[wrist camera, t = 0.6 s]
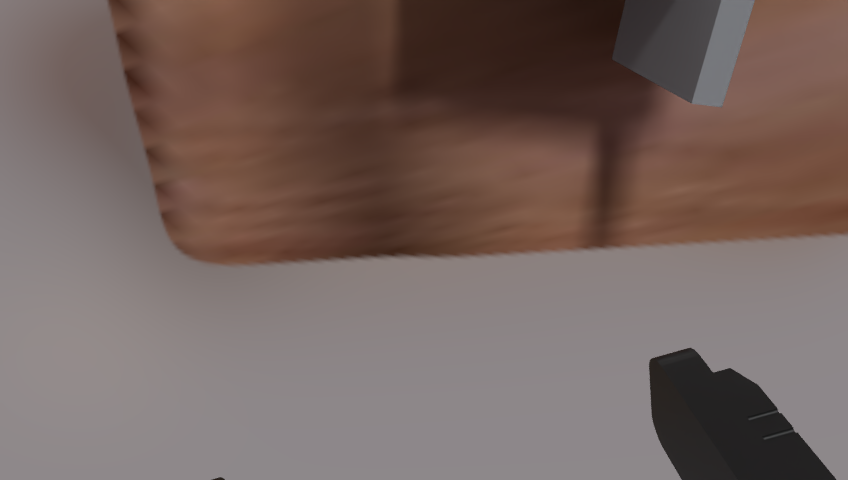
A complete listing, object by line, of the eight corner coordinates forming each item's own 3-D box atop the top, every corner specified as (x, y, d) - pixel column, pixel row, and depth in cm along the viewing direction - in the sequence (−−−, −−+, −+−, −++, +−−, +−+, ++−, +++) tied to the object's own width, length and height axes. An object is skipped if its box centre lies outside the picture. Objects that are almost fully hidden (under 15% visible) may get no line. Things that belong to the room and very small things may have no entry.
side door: (460, -80, 32) (486, -90, 22) (658, -52, 33) (769, -50, 23) (444, 36, 35) (462, 75, 25) (631, 60, 35) (721, 107, 25)
